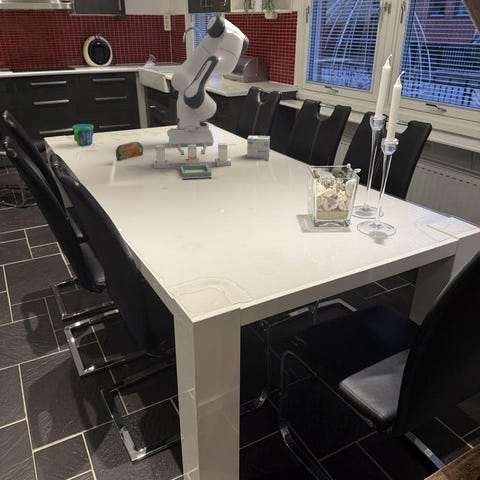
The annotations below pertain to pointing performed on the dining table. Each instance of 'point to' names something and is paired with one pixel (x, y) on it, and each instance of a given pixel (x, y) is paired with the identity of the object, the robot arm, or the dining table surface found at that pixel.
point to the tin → (129, 150)
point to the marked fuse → (192, 153)
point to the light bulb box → (258, 147)
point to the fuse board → (191, 163)
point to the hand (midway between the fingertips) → (192, 154)
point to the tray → (190, 174)
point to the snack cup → (83, 134)
